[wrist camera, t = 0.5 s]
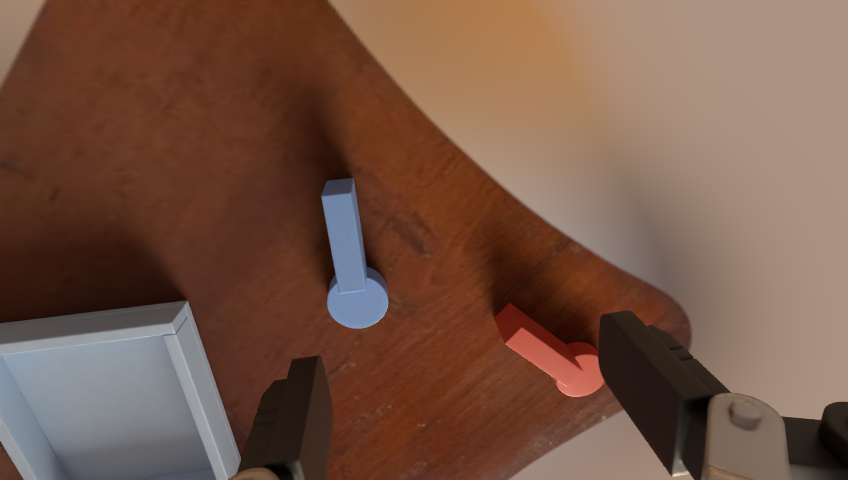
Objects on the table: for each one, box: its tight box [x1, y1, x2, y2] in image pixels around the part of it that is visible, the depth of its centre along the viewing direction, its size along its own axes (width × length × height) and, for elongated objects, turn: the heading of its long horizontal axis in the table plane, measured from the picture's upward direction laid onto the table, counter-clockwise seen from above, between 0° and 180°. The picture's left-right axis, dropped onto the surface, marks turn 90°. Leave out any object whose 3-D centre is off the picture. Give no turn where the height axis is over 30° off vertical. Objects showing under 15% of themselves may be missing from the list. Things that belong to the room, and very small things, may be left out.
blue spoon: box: [321, 178, 388, 328], centre depth 28 cm, size 10×4×3 cm, turn 5°
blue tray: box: [0, 300, 241, 480], centre depth 30 cm, size 15×13×3 cm
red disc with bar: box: [494, 303, 604, 397], centre depth 32 cm, size 10×4×3 cm, turn 50°
